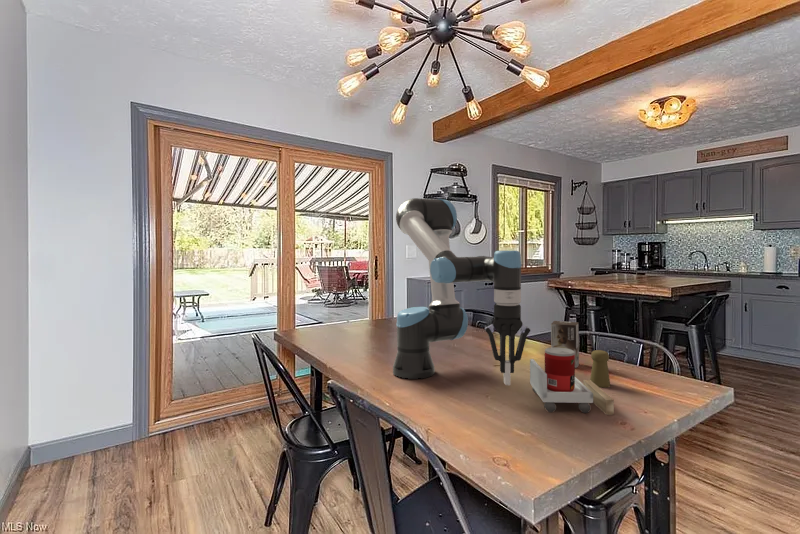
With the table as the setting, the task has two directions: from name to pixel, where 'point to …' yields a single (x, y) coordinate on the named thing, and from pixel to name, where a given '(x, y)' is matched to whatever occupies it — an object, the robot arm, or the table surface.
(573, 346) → the coffee box
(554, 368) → the canned food
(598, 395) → the bar
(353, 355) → the table surface
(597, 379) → the cork
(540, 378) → the cart
